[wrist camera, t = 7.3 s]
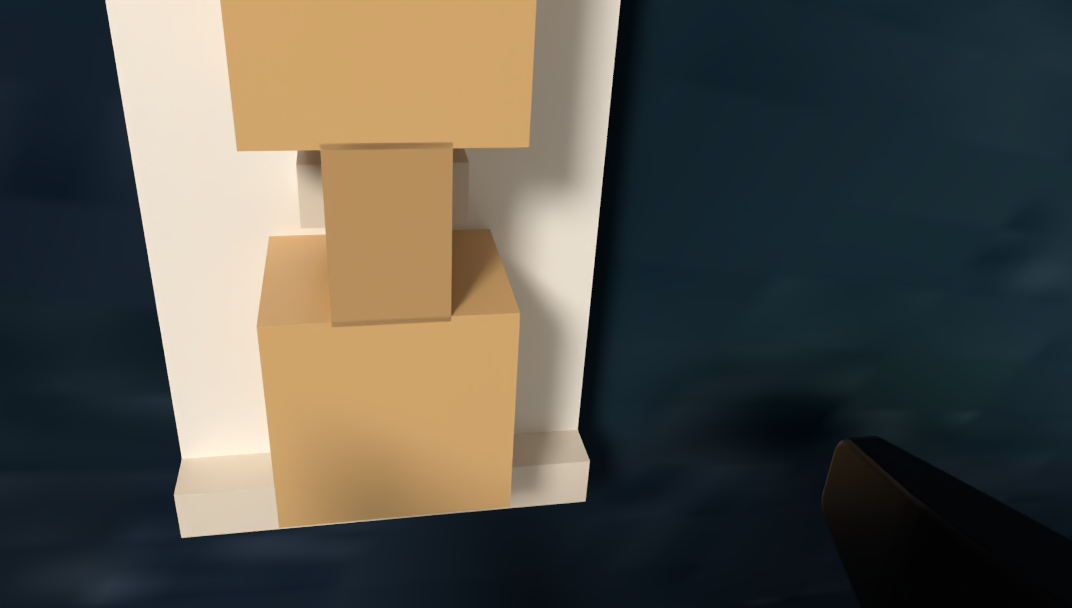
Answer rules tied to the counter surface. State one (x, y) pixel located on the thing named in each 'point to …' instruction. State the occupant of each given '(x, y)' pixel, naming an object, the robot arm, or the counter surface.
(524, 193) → the display stand
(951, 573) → the robot arm
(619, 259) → the counter surface
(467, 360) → the tan square dumbbell
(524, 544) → the counter surface
